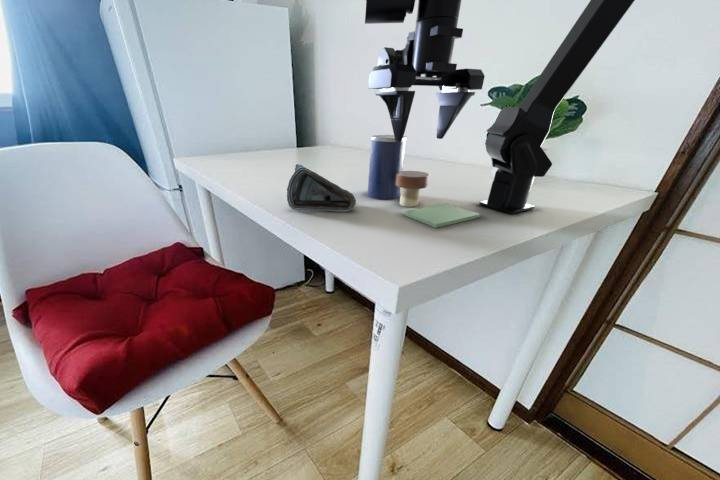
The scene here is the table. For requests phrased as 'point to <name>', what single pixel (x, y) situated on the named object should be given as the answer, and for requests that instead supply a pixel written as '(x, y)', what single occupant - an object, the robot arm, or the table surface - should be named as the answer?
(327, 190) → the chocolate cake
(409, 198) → the mushroom
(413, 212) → the napkin
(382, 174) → the can
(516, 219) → the table surface
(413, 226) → the table surface
